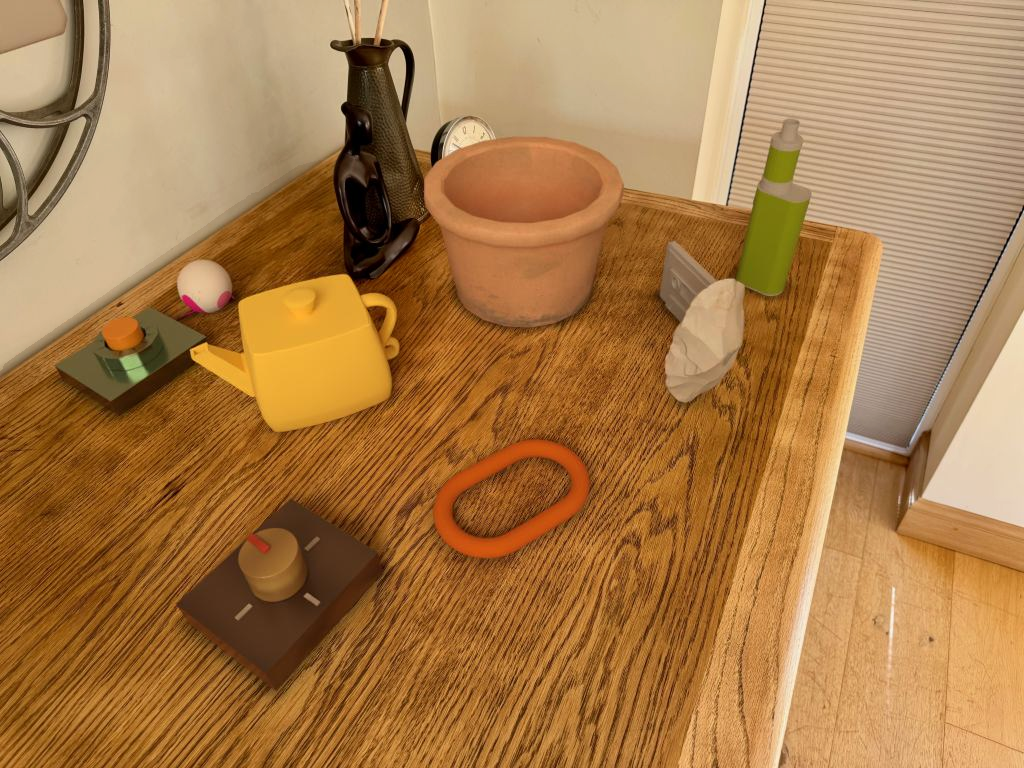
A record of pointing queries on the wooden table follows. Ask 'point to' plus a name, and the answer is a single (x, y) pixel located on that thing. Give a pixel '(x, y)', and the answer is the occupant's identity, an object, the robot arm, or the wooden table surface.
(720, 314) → the stone
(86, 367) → the lamp switch
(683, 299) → the cassette
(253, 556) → the dimmer knob
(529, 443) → the orange oval ring
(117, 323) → the button
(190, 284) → the stress ball
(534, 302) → the pottery
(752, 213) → the vape
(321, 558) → the dimmer panel
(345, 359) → the teapot
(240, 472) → the wooden table surface
